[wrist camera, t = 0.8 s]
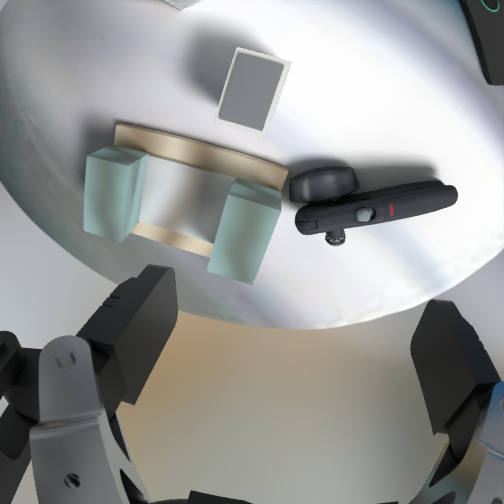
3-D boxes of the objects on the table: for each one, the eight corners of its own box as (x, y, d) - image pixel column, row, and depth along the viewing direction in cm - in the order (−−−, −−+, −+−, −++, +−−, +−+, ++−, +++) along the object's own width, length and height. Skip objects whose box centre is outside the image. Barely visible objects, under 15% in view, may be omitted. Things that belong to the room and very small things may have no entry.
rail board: (110, 220, 34) (84, 246, 29) (122, 122, 28) (89, 134, 22) (252, 264, 35) (246, 299, 30) (288, 168, 29) (289, 189, 24)
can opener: (293, 229, 33) (295, 258, 28) (285, 167, 29) (285, 186, 24) (442, 216, 30) (464, 240, 25) (446, 157, 26) (473, 174, 21)
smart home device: (479, -67, 8) (535, 83, 18) (472, -63, 10) (527, 82, 19) (425, -77, 11) (491, 86, 20) (419, -71, 12) (483, 84, 21)
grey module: (229, 113, 27) (213, 122, 20) (247, 55, 24) (236, 46, 17) (269, 125, 27) (265, 138, 21) (289, 68, 24) (291, 61, 18)
